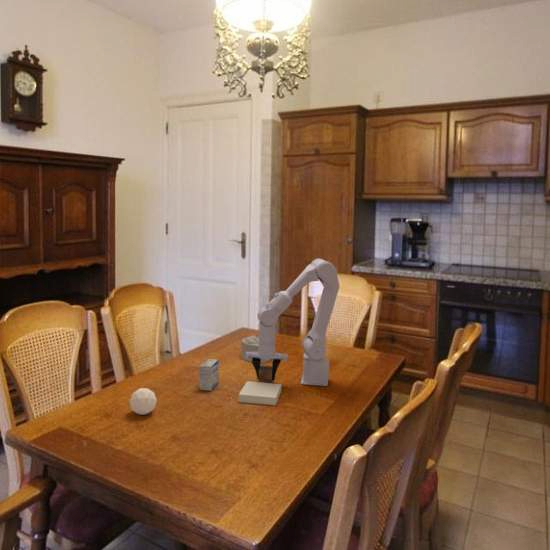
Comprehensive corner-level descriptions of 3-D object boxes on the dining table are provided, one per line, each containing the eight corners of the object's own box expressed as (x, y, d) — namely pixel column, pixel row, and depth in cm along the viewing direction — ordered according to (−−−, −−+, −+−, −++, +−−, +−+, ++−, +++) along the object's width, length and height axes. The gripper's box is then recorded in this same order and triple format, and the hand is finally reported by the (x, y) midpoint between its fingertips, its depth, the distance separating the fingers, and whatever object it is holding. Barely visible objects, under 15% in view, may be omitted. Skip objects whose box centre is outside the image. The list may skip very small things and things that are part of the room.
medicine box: (211, 391, 167) (211, 366, 165) (199, 390, 167) (199, 365, 166) (218, 383, 174) (218, 359, 173) (206, 381, 175) (206, 358, 174)
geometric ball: (139, 424, 147) (123, 408, 143) (140, 405, 154) (125, 389, 150) (161, 413, 146) (145, 397, 142) (161, 394, 153) (147, 378, 149)
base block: (281, 392, 168) (281, 384, 168) (275, 406, 156) (275, 397, 156) (246, 389, 170) (247, 381, 170) (238, 403, 158) (238, 394, 158)
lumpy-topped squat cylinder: (262, 364, 195) (262, 343, 193) (235, 358, 202) (235, 337, 200) (275, 357, 203) (276, 337, 202) (250, 352, 210) (250, 332, 209)
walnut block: (273, 382, 176) (273, 366, 175) (271, 387, 171) (271, 370, 170) (260, 381, 176) (261, 365, 176) (258, 386, 172) (258, 369, 171)
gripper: (244, 343, 169) (243, 381, 171) (286, 346, 167) (285, 384, 169) (248, 337, 176) (247, 374, 178) (288, 340, 173) (287, 377, 176)
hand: (266, 379), depth 174 cm, fingers closed on walnut block, 5 cm apart
